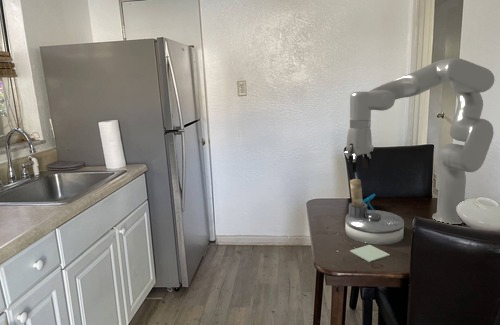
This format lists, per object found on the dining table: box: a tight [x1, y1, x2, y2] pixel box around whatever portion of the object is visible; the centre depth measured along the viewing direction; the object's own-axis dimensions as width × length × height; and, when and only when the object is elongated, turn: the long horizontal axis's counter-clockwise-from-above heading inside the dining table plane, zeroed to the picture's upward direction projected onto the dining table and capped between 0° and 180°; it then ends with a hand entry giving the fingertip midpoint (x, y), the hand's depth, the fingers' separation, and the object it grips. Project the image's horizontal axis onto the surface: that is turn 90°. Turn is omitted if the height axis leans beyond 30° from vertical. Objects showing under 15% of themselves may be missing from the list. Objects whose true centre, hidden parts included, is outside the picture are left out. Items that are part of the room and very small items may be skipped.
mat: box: [349, 244, 391, 263], centre depth 117 cm, size 9×9×1 cm
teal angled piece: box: [363, 193, 376, 210], centre depth 160 cm, size 11×6×10 cm
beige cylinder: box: [349, 178, 364, 207], centre depth 136 cm, size 4×4×14 cm
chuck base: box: [344, 223, 405, 246], centre depth 133 cm, size 21×21×4 cm
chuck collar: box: [345, 202, 405, 233], centre depth 132 cm, size 21×21×6 cm
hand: (359, 169), depth 135 cm, fingers open, 7 cm apart
